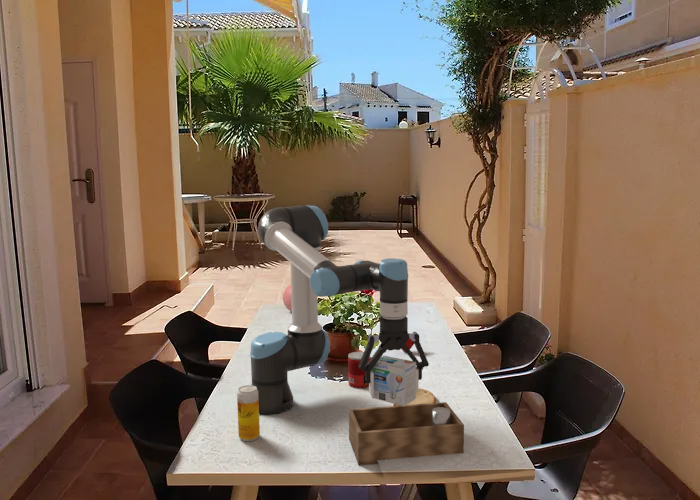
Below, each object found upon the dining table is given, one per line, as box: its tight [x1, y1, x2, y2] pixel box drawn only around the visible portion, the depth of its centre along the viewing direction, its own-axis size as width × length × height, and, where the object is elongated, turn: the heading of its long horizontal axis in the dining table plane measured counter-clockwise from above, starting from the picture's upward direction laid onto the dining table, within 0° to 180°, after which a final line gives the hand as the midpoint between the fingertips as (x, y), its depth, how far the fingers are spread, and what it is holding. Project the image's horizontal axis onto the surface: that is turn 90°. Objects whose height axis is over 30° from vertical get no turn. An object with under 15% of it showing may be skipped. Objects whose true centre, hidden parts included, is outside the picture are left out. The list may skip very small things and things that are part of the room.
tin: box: [432, 407, 450, 426], centre depth 180 cm, size 5×5×9 cm
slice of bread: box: [392, 387, 437, 406], centre depth 209 cm, size 18×18×4 cm
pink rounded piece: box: [282, 284, 319, 312], centre depth 329 cm, size 15×20×15 cm
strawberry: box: [401, 332, 415, 354], centre depth 262 cm, size 6×8×10 cm
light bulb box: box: [371, 355, 416, 406], centre depth 176 cm, size 11×7×11 cm, turn 56°
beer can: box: [236, 384, 260, 442], centre depth 185 cm, size 6×6×15 cm
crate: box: [348, 401, 465, 466], centre depth 179 cm, size 29×16×9 cm, turn 99°
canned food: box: [347, 351, 372, 389], centre depth 227 cm, size 8×8×11 cm
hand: (393, 392), depth 176 cm, fingers closed on light bulb box, 12 cm apart
